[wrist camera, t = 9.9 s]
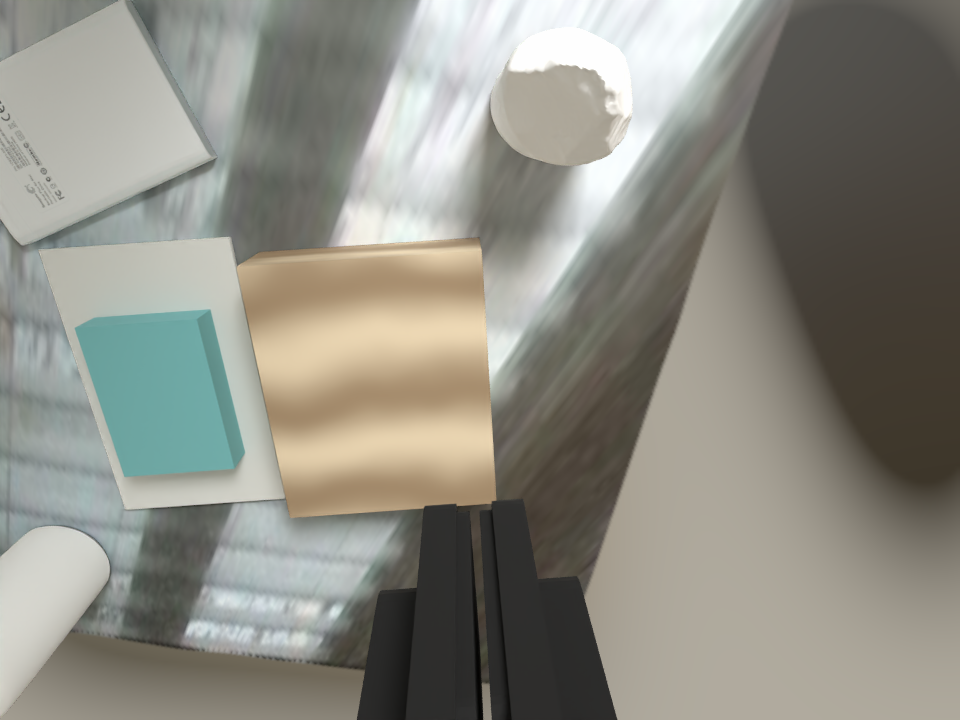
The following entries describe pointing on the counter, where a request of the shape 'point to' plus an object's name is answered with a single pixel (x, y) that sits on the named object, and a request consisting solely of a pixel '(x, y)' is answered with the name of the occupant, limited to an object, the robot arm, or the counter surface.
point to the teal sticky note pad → (163, 391)
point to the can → (43, 599)
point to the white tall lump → (563, 97)
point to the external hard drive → (90, 124)
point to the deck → (374, 374)
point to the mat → (158, 289)
